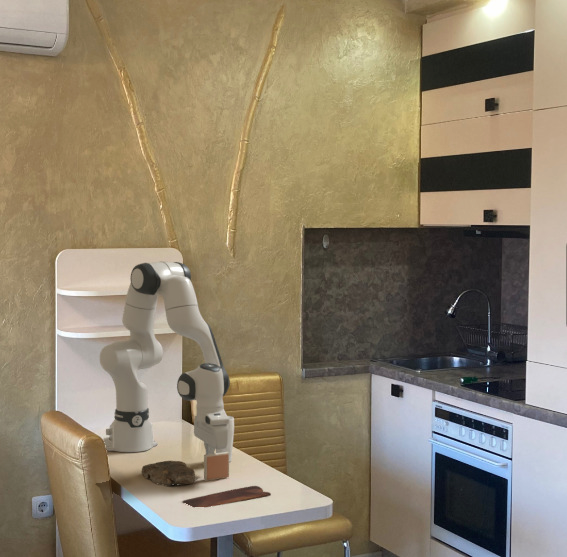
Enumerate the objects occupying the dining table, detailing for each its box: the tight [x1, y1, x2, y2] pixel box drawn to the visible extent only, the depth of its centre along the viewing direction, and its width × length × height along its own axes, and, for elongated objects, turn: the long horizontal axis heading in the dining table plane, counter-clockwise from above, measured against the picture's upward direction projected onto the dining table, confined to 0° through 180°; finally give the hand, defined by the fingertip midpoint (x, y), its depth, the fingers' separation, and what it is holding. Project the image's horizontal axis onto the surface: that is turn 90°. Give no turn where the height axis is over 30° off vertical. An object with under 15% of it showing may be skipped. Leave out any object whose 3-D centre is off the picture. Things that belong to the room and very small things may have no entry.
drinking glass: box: [215, 415, 235, 463], centre depth 298 cm, size 7×7×15 cm
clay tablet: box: [141, 460, 197, 487], centre depth 277 cm, size 14×5×20 cm
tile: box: [203, 452, 230, 481], centre depth 278 cm, size 2×8×8 cm, turn 117°
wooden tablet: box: [181, 485, 272, 508], centre depth 260 cm, size 26×2×10 cm
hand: (209, 456), depth 283 cm, fingers closed
